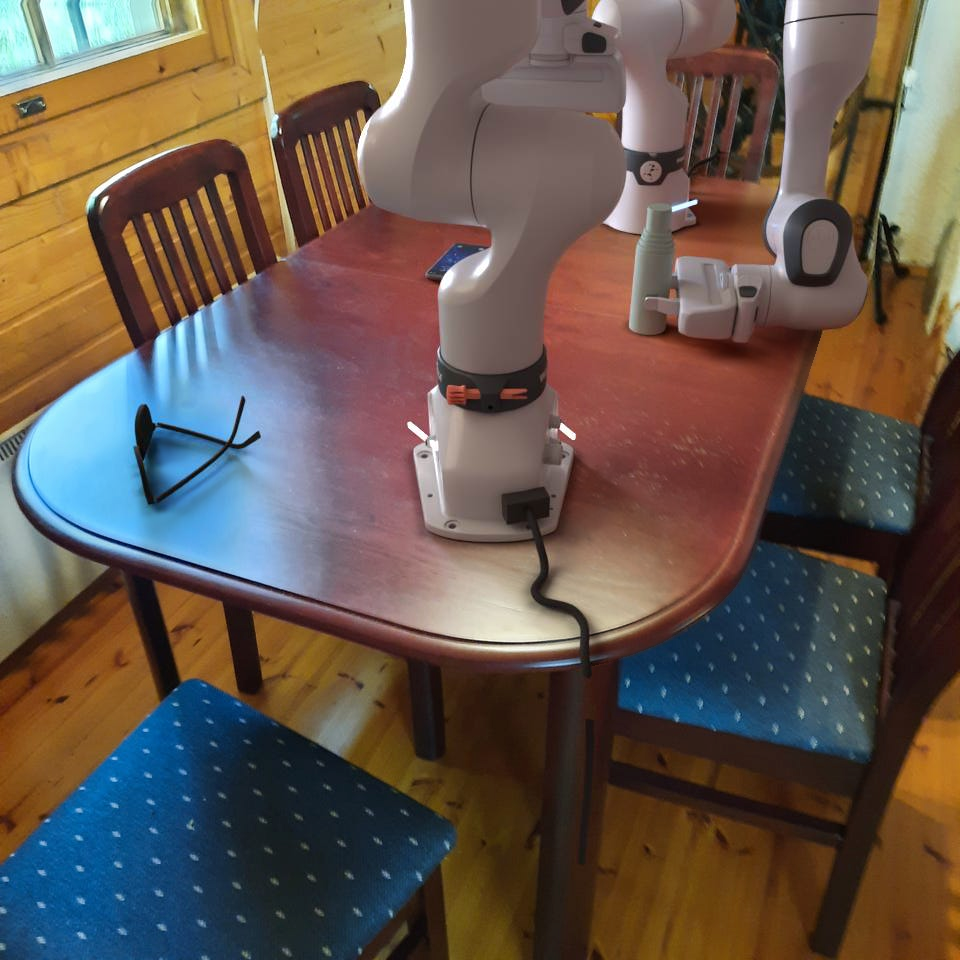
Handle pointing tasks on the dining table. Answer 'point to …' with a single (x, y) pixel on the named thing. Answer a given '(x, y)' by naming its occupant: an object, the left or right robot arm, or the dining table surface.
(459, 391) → the left robot arm
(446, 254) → the smartphone
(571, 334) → the dining table surface
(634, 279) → the bottle
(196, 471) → the sunglasses
